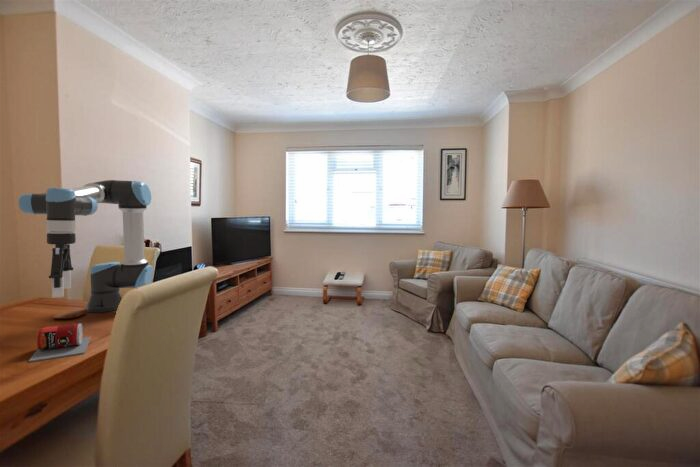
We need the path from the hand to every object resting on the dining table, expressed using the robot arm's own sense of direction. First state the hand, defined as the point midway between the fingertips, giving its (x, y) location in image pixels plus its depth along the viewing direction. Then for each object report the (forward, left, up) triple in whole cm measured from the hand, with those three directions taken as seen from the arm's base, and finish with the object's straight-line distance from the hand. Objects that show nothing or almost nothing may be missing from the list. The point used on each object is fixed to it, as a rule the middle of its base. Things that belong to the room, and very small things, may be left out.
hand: (62, 292), depth 114 cm
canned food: (+5, -4, -16) cm, 17 cm away
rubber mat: (0, 0, -20) cm, 20 cm away
